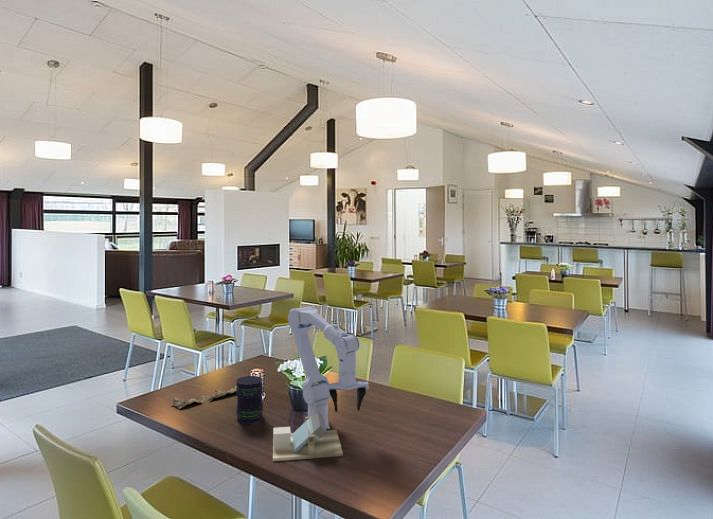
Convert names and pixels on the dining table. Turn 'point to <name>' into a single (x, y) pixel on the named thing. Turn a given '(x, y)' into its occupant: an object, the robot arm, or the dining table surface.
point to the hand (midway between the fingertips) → (347, 410)
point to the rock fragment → (179, 402)
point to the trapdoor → (308, 430)
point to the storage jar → (249, 399)
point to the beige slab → (312, 447)
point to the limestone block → (282, 437)
